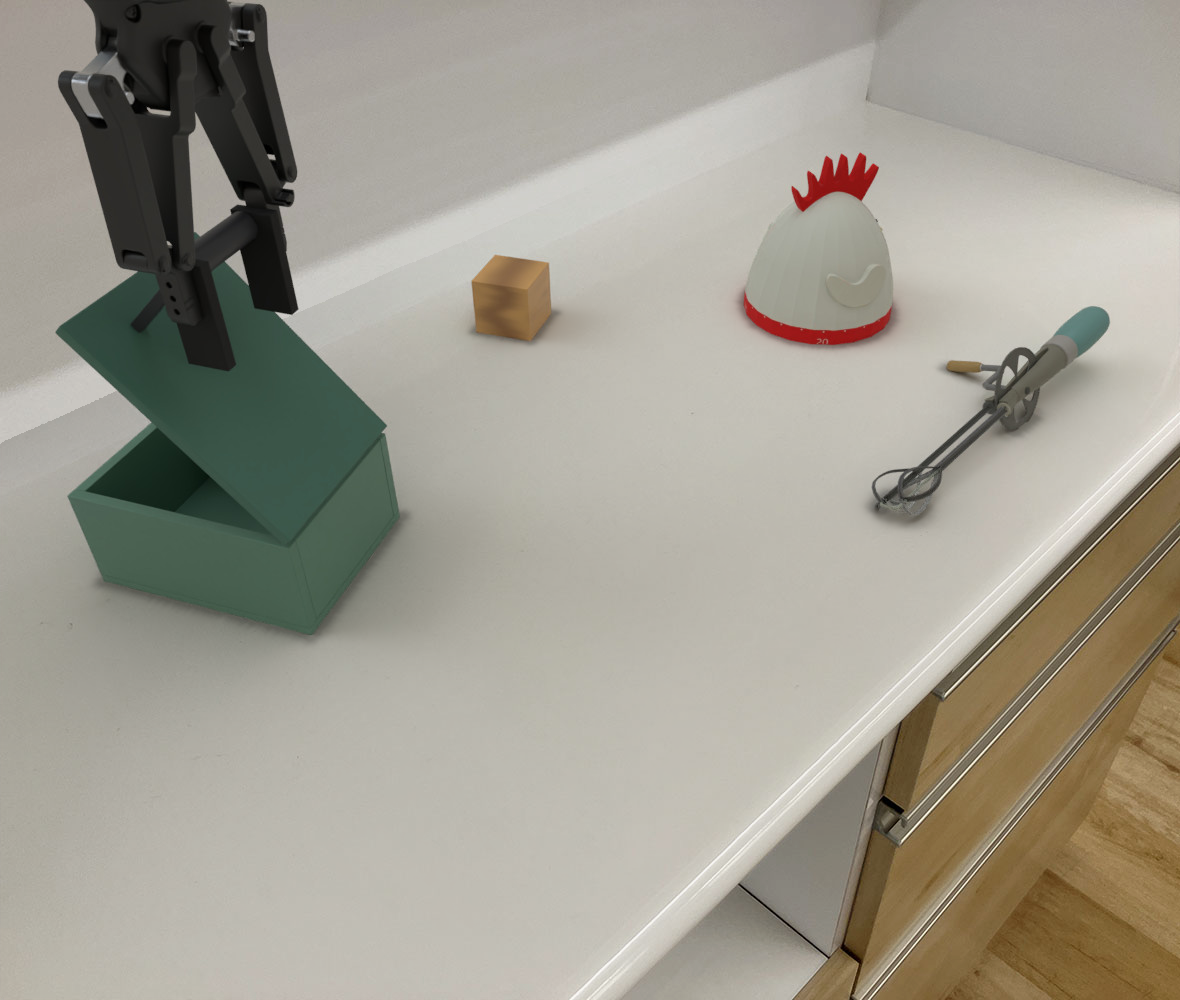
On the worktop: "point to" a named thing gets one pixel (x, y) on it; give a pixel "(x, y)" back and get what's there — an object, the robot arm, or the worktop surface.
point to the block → (512, 297)
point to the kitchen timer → (824, 263)
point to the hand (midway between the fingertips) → (245, 334)
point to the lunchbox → (229, 534)
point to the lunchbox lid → (232, 389)
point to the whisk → (1002, 398)
